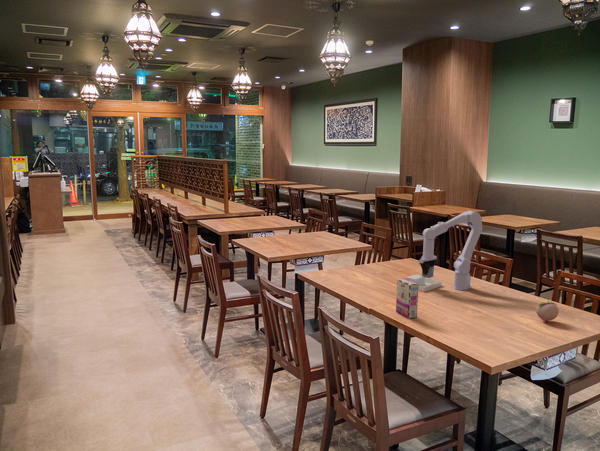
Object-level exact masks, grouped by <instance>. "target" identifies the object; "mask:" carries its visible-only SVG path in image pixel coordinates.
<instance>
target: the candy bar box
mask: <svg viewBox="0 0 600 451" xmlns="http://www.w3.org/2000/svg"><path fill="white" fill-rule="evenodd" d="M395 301H396V305H395V312H396V313H397V314H400V315H401V316H403V317H405V318H406V319H409V320H411V319H417V318H418V301H419V291H418V284H417V283H415V282H412V281H410V280H408V279H406V278H397V282H396V300H395Z"/></svg>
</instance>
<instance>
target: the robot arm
mask: <svg viewBox="0 0 600 451" xmlns="http://www.w3.org/2000/svg"><path fill="white" fill-rule="evenodd" d="M482 220H483V217H482V216H481V214H480V213H479V212H477V211H473V210H470V209H469V210H466V211H464V212H463V211H462V212H461V213H459V214H458V215H456V216H455V217H453V218H451V219H449V220H447V221H445V222H444V221H438V222H437V224H434V225H432V226H430V228H425V229H424V230H423V231H422V236H423V243H422V244H423V247H422V248H423V249H422V256H420V257H421V258H420V259H419V261H418V262H419V266H420V267H421V270H422V271H423V274H424V275H427V272H428V267H429V265H430V266H434V267H435V265H436V264H437V258H438V257H437V256H436V255H435V254H434V253H435V252H434V249H435V238H436V237H438V236H440V235H441V234H444V233H446V232H448V230H449V228H451V227H454V226H456V225H457V224H460V223H468V224H469V226H470V228H471V230H470V232H469V235H468V237H467V238H466V242H465V245H464V247H463V248H462V251H461V254H460V255H458V257H457V259H456V260H455V261H453V268H454V269H455V270H454V276H453V277H454V280H453V281H454V282H453V283H454V284H453V285H452V286H450V288H452V289H455V290H457V291H458V290H460V291H462V292H463V291H466V290H469V289H472V286H471V279H472V278H471V273H469V272H470V270H471V263H472V262H471V261H472V260H471V258H472V256H473V253H474V250H475V248H476V245H477V243H478V241H479V239H480V236H481V234H482V231H483V223H482ZM422 271H421V272H422Z"/></svg>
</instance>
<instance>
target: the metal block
mask: <svg viewBox="0 0 600 451" xmlns="http://www.w3.org/2000/svg"><path fill="white" fill-rule="evenodd" d="M434 270H435V265H434V266H430V265H429V267H428V272H427V275H424V274H423V271H421V275H422V277H425V278H428V279H432V278H434V272H435V271H434Z"/></svg>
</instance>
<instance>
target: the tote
mask: <svg viewBox="0 0 600 451" xmlns="http://www.w3.org/2000/svg"><path fill="white" fill-rule="evenodd" d="M442 286H443V282H442V280H437V279H433V278H426V277H425V284H423V285H420V286H418V292H421V293H425V292H428V291H431V290H434V289H436V288H440V287H442Z"/></svg>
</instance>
